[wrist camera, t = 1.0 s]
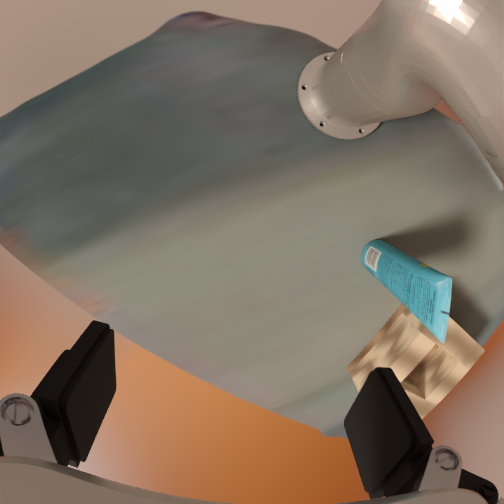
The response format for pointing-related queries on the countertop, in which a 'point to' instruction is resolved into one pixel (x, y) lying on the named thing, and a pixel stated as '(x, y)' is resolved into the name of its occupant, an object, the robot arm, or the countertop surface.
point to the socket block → (418, 358)
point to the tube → (412, 284)
